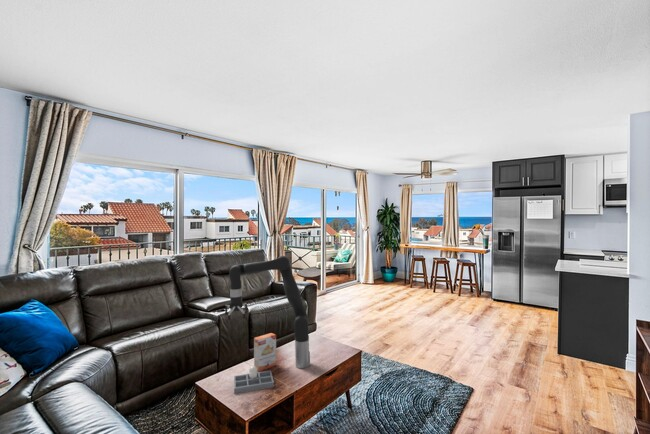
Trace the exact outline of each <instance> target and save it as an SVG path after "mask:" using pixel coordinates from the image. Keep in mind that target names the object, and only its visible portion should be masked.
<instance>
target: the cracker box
mask: <svg viewBox="0 0 650 434" xmlns="http://www.w3.org/2000/svg"><path fill="white" fill-rule="evenodd" d="M253 359H254V361H253V366H255V367H256V368H257V373H258V372H263V371H264V370H265V371H266V370H267V369H269V368H273V367H275V366H277V334H275V333H272V332H270V333H266V334H263V335H260V336H255V337H254V338H253Z"/></svg>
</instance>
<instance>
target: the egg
mask: <svg viewBox="0 0 650 434" xmlns="http://www.w3.org/2000/svg"><path fill="white" fill-rule="evenodd" d="M257 373H258V371H257V368H256V367H255V366H254V365H251V366H250V367H249V369H248V374H249V379H255V378H257Z"/></svg>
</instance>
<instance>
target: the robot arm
mask: <svg viewBox="0 0 650 434" xmlns="http://www.w3.org/2000/svg"><path fill="white" fill-rule="evenodd" d="M273 270H274V271H279V272H280V275H281V277H282V278H281V279H282V285H283V289H284V293H285V297H286V299H287V301H288V303H289V304H290V306H291V308H292V310H293V314H294V316H295V317H294V318H295V320H294V321H293V333H294V334H293V335H294V342H295V343H294V346H295V347H294V348H295V349H294V350H295V351H294V353H295V355H294V356H295V362H294V363H295V367H296V368H298V369H307V368H308V367H311V352H310V335H309V324H310V319H309V315H308V314H307V312H306V309H305V307H304V304H303V299H302V296H301V292H300V289H299V286H298V285H297V282H296V279H295V276H294V275H293V271H292V267H291V261H290V259H289V257H288V256H286V255H280V256H278V258H277V257H276V258H274V259H270V260H264V261H254V262H248V263H239V264H235V265H232V266H231V267H230V269H229V272H228V273H229V280H230V285H229V287H230V293H229V298H230V303H229V304H225V308H224V310H225V311H224V312H225V313H224V315H225V316H226V315H227V320H228V321H229V322H230V321H231V314H232V313H233V312H239V311H240V312H241V313H242V320H245V319H246V313H247V314H248V303H247V302H245V303H243V290H242V280H241V275H243V274H244V275H245V274H247V275H250V274H256V273H262V272H266V271H273ZM243 307H244V308H245V310H244V309H243ZM229 308H230V310H229V311H228V309H229Z"/></svg>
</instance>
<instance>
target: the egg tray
mask: <svg viewBox="0 0 650 434" xmlns="http://www.w3.org/2000/svg"><path fill="white" fill-rule="evenodd" d="M274 387H275V381H274V377H273V374H272V370H265V371H264V370H263V371H260V372H258V371H257V378H255V379H249V373H247V374H240V375H234V376H233V391H234V392H233V394H240V393H246V392H251V391H252V392H253V391H258V390H263V389H269V388H274Z"/></svg>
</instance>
